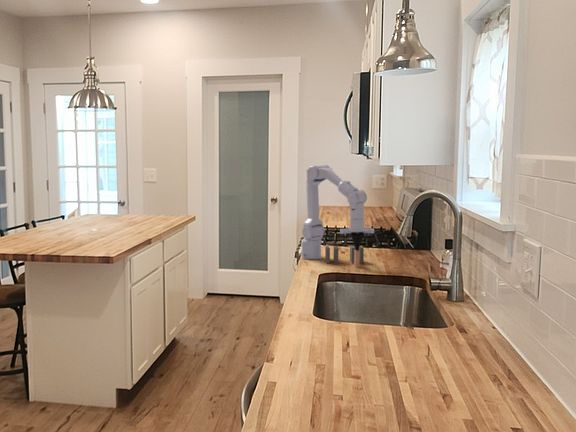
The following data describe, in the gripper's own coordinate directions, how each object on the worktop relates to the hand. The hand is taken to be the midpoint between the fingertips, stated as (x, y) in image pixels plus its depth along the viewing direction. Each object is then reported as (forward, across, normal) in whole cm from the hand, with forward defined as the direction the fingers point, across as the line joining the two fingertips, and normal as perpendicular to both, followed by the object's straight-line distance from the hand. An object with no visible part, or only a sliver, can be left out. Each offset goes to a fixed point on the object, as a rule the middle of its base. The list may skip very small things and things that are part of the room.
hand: (356, 249), depth 216 cm
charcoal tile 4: (+7, -8, +9) cm, 14 cm away
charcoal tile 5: (+7, -12, +9) cm, 17 cm away
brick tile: (+7, 0, 0) cm, 7 cm away
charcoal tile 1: (+7, +3, +9) cm, 12 cm away
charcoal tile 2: (+7, 0, +9) cm, 12 cm away
